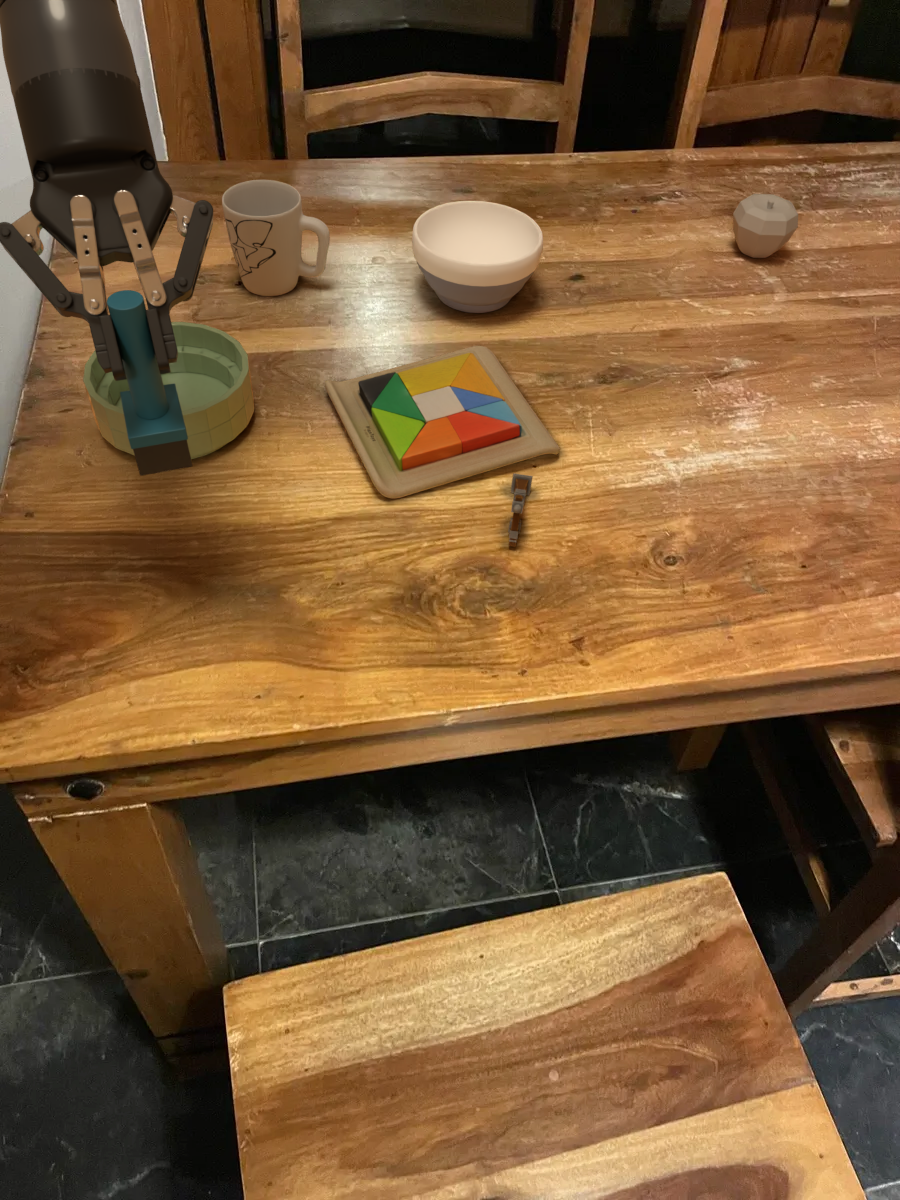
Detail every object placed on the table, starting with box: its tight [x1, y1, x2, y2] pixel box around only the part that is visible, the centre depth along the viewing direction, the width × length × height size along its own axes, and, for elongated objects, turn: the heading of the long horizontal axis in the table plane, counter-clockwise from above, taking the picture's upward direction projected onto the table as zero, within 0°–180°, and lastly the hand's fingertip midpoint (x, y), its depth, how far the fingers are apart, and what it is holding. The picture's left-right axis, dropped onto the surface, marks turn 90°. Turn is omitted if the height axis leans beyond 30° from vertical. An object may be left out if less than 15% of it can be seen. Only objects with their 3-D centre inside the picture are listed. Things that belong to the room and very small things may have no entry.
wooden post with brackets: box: [507, 473, 533, 548], centre depth 83 cm, size 2×8×4 cm, turn 171°
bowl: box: [411, 200, 544, 314], centre depth 105 cm, size 14×14×8 cm
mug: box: [221, 179, 331, 297], centre depth 104 cm, size 11×8×10 cm
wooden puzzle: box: [324, 345, 561, 499], centre depth 91 cm, size 17×19×4 cm
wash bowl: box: [82, 321, 255, 460], centre depth 89 cm, size 15×15×6 cm
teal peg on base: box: [107, 289, 194, 477], centre depth 62 cm, size 5×4×12 cm
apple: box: [732, 193, 799, 259], centre depth 115 cm, size 8×8×7 cm
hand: (143, 373), depth 59 cm, fingers closed on teal peg on base, 2 cm apart
